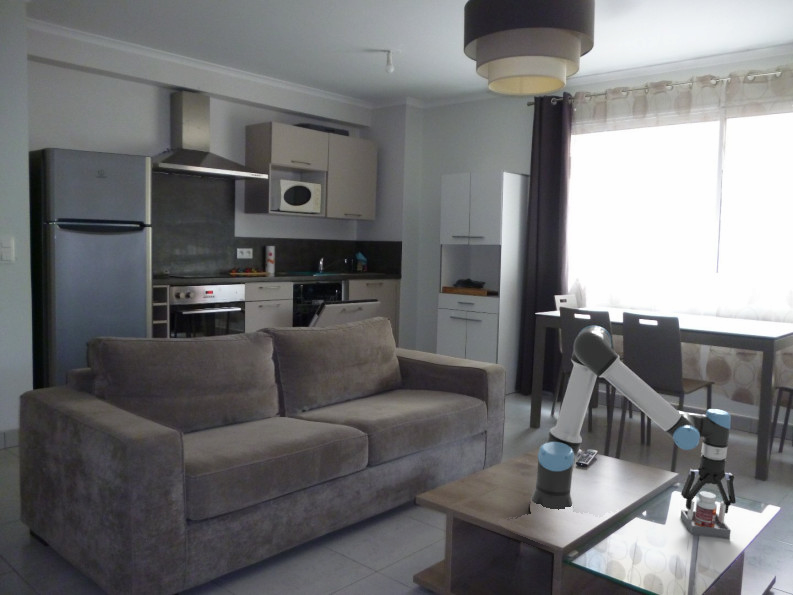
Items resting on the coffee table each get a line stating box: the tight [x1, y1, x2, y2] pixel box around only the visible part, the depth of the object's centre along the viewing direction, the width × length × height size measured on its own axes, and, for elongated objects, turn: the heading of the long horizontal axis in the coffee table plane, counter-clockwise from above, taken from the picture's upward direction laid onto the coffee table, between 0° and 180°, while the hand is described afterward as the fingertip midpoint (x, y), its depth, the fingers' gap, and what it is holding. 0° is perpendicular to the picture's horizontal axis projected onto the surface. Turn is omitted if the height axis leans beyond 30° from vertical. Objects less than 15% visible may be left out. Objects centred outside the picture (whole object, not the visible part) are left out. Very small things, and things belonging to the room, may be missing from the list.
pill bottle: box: [694, 490, 718, 528], centre depth 220 cm, size 6×6×11 cm
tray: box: [679, 509, 732, 540], centre depth 221 cm, size 12×12×3 cm
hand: (705, 519), depth 221 cm, fingers open, 9 cm apart
